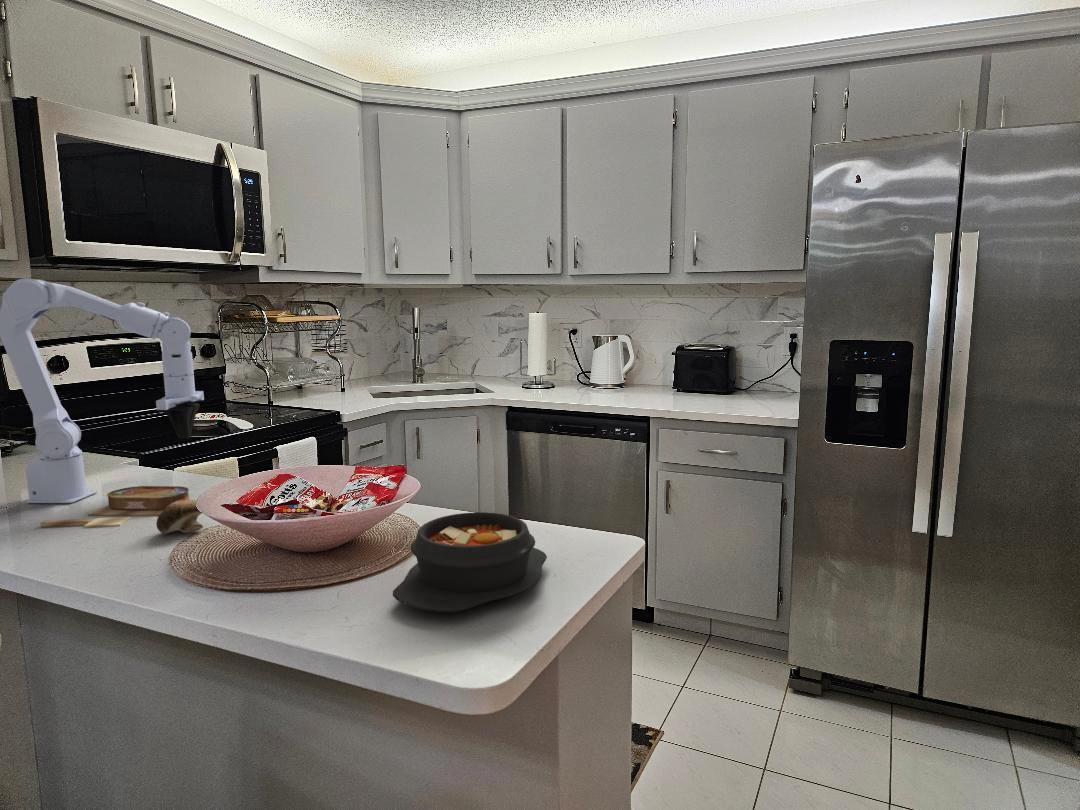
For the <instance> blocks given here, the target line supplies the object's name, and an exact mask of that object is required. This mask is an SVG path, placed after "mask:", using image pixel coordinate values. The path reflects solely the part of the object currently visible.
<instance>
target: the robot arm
mask: <svg viewBox="0 0 1080 810" xmlns="http://www.w3.org/2000/svg"><path fill="white" fill-rule="evenodd" d="M59 307H60V308H61V307H74V308H77V309H81V310H84V311H87V312H90V313H94V314H97V315H99V316H103V317H106V318H110V319H113V320H115V321H116V322H117V323H118V325H119V327H120V329H121V330H122V329H123V330H125V331H128V332H132V333H134V334H138V335H140V336H143V337H146V338H149V339H151V340H156V339H159V340H160V341H161V342H162V343H161V345H162V353H161V362H162V371H163V373H162V374H163V383H164V392H165V393H164V395H165V396H163V397H162V398H160V399H158V400H155V405H156V411H164V414H166V415H167V417H168V418H169V420H170V421H171V423H172V425H173V429H174V430H175V434H176V436H177V439H178V440H179V439H182V440H183V439H185V440H187V439H191V437H192V432H193V427H194V423H195V418H196V416H197V413H198V411H199V409H200V403H194V402H197V401H204V400H205V395H204V391H203V390H196V387H195V386H196V385H195V375H194V374H195V371H194V363H193V362H194V361H193V352H192V351H191V350H192V344H191V343H190V342H191V341H190V338H191V334H192V333H191V327H190V325H189V324H188V323H187V322H186V321H185V320H183V319H182V318H179V317H178V316H172V317H170V315H171V314H170V312H167V311H165V312H160V311H158V310H154V309H151V308H149V307H146V304H145V303H144V302H140V301H138V302H137V303H134V302H133V301H131V302H128V303H125V304H124V305H123V304H122V305H121V304H118V303H115V302H112V301H110V300H107V299H105V298H102V297H99V296H97V295H94V294H92V293H89V292H87V291H83V290H82V289H78V288H76V287H73V286H68V285H64V284H59V283H56V282H55V283H53V282H48V281H46V280H43V279H34V278H29V277H28V278H27V277H25V278H24V277H23V278H20V279H17V280H15V281H14V282H12V283H11V285H9V287H8V288H7V289H6V290H5V292H3V293H2V303H1V307H0V340H1V342H2V344H3V347H4V349H5V351H6V354H7V356H8V359H9V361H10V363H11V365H12V367H13V370H14V373H15V375H16V377H17V380H18V383H19V384H20V387H21V389H22V392H23V394H24V396H25V399H26V401H27V403H28V406H29V408H30V411H31V412H32V419H33V420H32V423H33V427H34V430H35V434H36V435H35V447H36V450H37V451H38V452H39V453H40V454H39V455H36V456H34V457H31V459H30V460H29V461H28V462H27V465H26V469H25V476H26V484H27V485H26V486H27V490H28V491H27V492H28V498H29V499H28V500H26V501H25V503H26V504H72V503H74V502H77V501H79V500H82V499H84V498H87V497H89V496H92V495H94V494H97V493H98V490H97V489H96V490H95V489H93V490H92V489H88V490H87V481H86V476H85V475H86V474H85V466H84V458H83V457H84V456H83V451H82V449H80V448H79V446H78V444H79V443H80V441H81V437H82V431H81V429H80V427H79V426H78V425H77V424H76V423H75V422H74V421H73V420H72V419H71V418H70V415H69V414H68V412H67V410H66V409H65V407H63V405H62V403H61V401H60V399H59V396H58V394H57V392H56V389H55V387H54V385H53V383H52V380H51V377H50V375H49V372H48V370H47V368H46V365H45V363H44V360H43V358H42V356H41V353H40V350H39V348H38V346H37V344H36V341H35V339H34V336H33V334H32V329H33V327H34V325H35V324H36V323H37V321H38V320H39V319H40V317H41V316H43V315H44V314H46V313H47V312H48V311H50V310H51V309H52V308H59Z"/></svg>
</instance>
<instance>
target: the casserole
mask: <svg viewBox="0 0 1080 810" xmlns="http://www.w3.org/2000/svg"><path fill="white" fill-rule="evenodd" d="M535 545H536V539H535V537H534V535H532V534H531V533H530V530H529V527H528V525H527V523H525V521H524V520H522V519H520V518H518V517H515V516H512V515H508V514H504V513H496V512H464V513H463V512H462V513H456V514H450V515H445V516H440V517H438V518H435V519H432V520H430V521H428V522H426V523H424V524H422V525H421V526H420V527H419V529H418V531H417V533H416V537H415V539H414V540H413V542H412V543H411V545H410V551H411V553H412V555H414V557H415V558H416V561H417V563H415V564H414V565H413V566H412V567H411V568H410V569H409V570H408V572H407V573H406V576H405V578H404V579H403V580H402V582H400V583H399V584H398V585H397V586H396V587H395V588H394V589H393V590H392V596H393V598H394V599H395V600H396V601H398V602H400V604H401V603H402V604H403V605H405V606H408V607H412V608H414V609H418V610H423V611H428V612H436V613H437V612H438V613H458V612H464V611H466V610H468V609H472V608H474V607H477V606H480V605H483V604H484V603H489V602H493V601H497V600H500V599H501V600H502V599H505V598H509V597H513V596H515V595H517V594H521V593H523V592H524V591H526V590H528V589H530V588H532V587H533V586H534V585H535V584H536V583H538V582H539V580H540V578H541V577H542V571H543V565H544V564H545V562H546V560H547V558H548V556H547V554H546V553H545V552H544V551H542V550H541V549H539V548H536V547H535Z"/></svg>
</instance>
